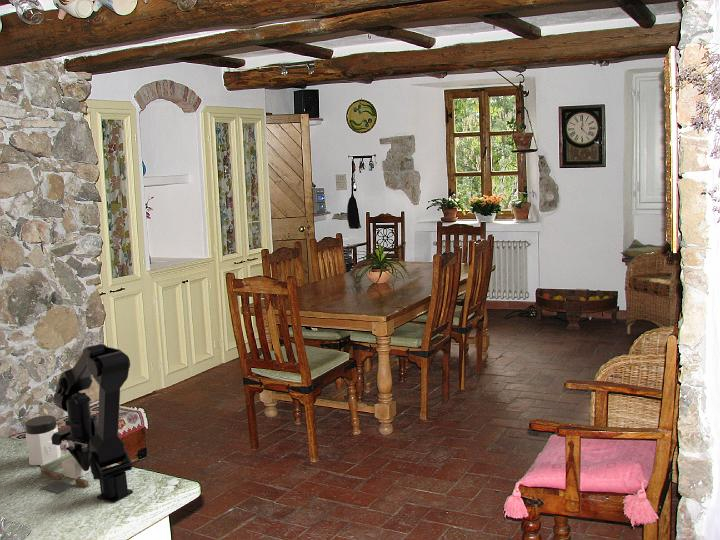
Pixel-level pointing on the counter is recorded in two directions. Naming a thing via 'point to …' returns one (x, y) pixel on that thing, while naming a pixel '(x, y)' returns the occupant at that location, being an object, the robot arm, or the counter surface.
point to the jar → (41, 440)
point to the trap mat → (57, 486)
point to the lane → (49, 472)
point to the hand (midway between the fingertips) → (86, 470)
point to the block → (72, 468)
